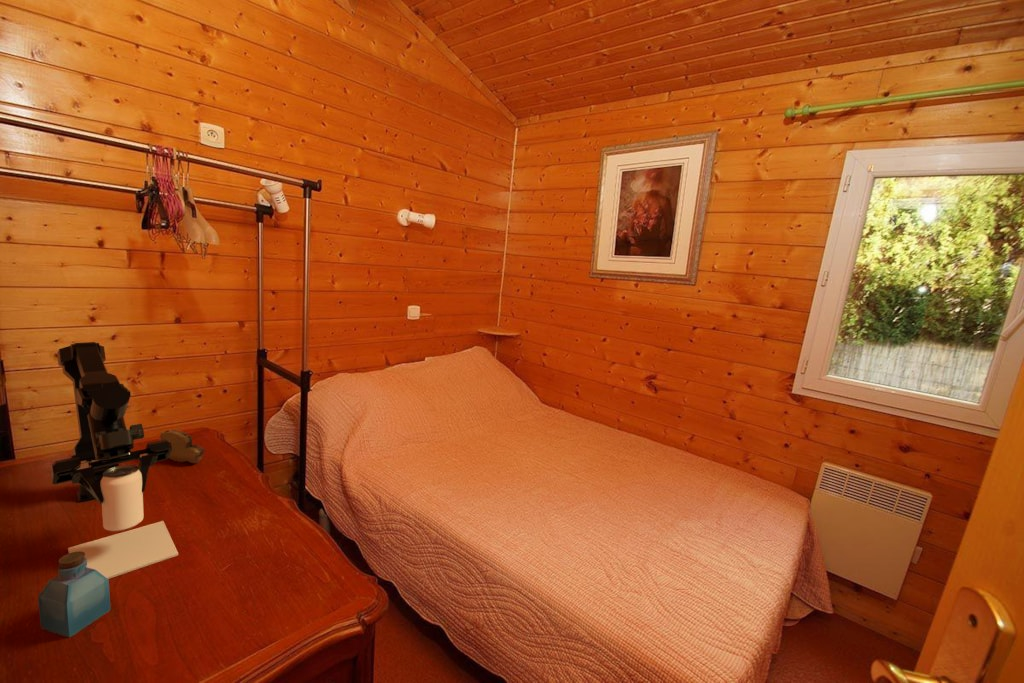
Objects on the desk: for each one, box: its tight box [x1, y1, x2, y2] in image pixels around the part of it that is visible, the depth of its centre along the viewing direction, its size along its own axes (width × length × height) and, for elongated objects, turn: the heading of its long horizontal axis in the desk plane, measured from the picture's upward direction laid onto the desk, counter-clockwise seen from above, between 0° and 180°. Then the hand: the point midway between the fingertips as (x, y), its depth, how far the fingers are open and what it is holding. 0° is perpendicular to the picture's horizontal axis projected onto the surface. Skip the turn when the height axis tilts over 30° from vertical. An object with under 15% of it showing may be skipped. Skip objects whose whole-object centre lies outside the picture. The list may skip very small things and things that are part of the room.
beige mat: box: [67, 520, 179, 580], centre depth 93 cm, size 16×16×1 cm
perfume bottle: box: [37, 551, 111, 639], centre depth 75 cm, size 6×6×12 cm
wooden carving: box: [159, 429, 205, 464], centre depth 133 cm, size 16×5×10 cm, turn 80°
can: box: [101, 464, 144, 532], centre depth 91 cm, size 6×6×12 cm
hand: (122, 497), depth 90 cm, fingers closed on can, 6 cm apart
